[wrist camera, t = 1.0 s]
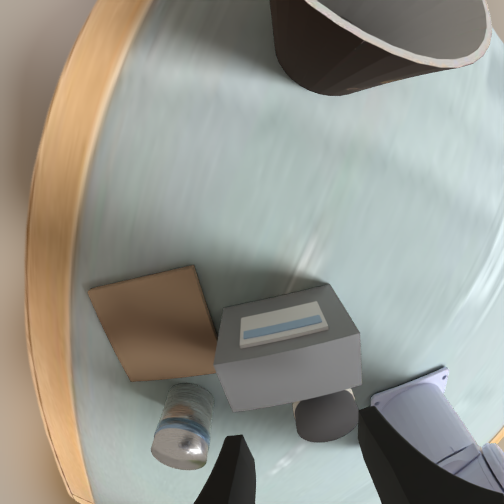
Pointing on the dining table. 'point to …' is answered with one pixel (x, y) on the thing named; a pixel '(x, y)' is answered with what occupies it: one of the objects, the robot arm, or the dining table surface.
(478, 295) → the dining table surface
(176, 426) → the cylinder
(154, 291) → the board
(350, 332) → the box
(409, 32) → the coffee mug
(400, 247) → the dining table surface
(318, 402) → the banded grey cylinder
